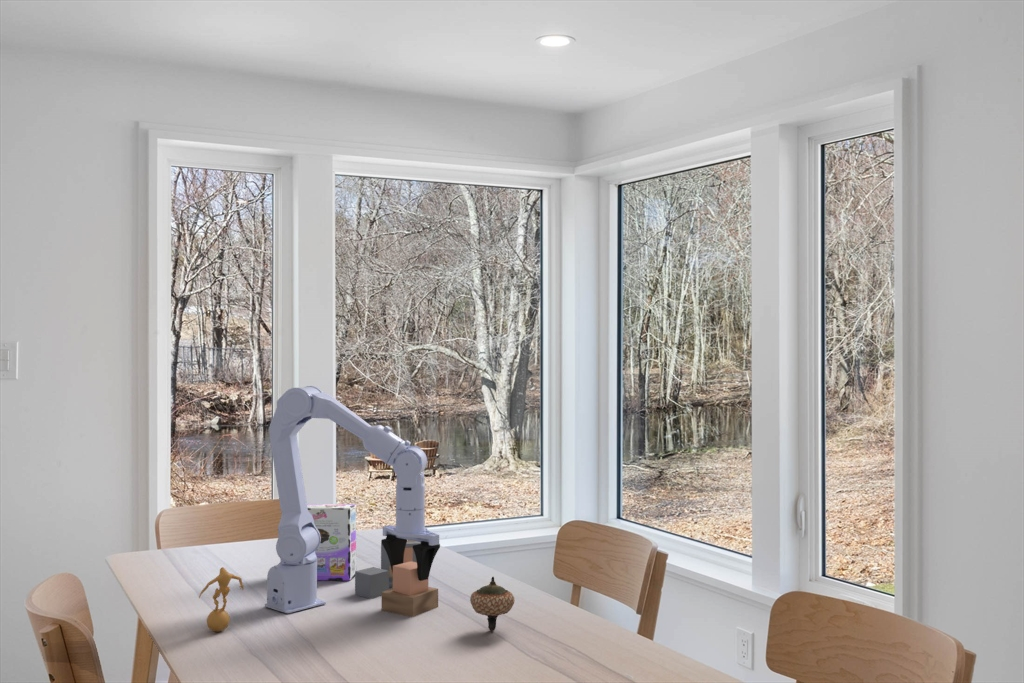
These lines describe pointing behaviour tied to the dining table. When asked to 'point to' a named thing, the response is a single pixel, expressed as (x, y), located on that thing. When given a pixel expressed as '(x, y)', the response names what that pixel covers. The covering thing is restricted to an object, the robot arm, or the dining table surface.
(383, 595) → the walnut base block
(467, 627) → the dining table surface
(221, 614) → the figurine
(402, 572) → the terracotta cube
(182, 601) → the dining table surface
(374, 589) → the charcoal cube
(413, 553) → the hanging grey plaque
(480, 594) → the acorn
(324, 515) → the candy box
